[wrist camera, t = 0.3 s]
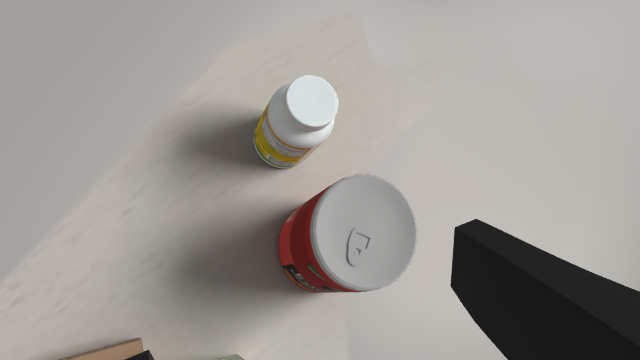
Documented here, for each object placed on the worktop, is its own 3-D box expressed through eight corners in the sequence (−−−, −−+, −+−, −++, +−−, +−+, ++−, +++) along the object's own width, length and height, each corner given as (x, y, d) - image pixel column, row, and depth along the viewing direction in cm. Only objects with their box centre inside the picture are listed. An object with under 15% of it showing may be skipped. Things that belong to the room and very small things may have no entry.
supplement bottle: (269, 179, 42) (297, 147, 33) (242, 125, 42) (262, 80, 34) (320, 155, 44) (359, 119, 35) (293, 104, 44) (326, 56, 36)
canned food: (270, 287, 40) (306, 284, 30) (281, 195, 42) (319, 163, 32) (355, 297, 42) (416, 297, 32) (362, 208, 44) (421, 182, 34)
